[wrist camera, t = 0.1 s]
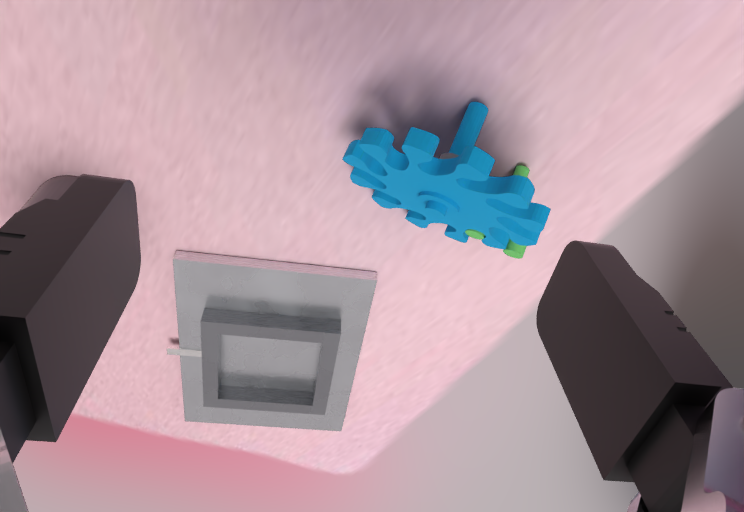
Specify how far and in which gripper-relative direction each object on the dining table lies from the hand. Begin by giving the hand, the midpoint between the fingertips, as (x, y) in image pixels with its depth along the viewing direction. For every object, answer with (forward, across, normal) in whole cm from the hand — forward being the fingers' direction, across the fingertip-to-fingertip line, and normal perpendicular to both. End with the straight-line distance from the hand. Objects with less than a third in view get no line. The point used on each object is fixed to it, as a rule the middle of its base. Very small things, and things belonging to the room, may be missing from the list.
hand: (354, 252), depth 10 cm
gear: (+18, -6, +5) cm, 20 cm away
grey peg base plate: (+19, +2, +22) cm, 29 cm away
